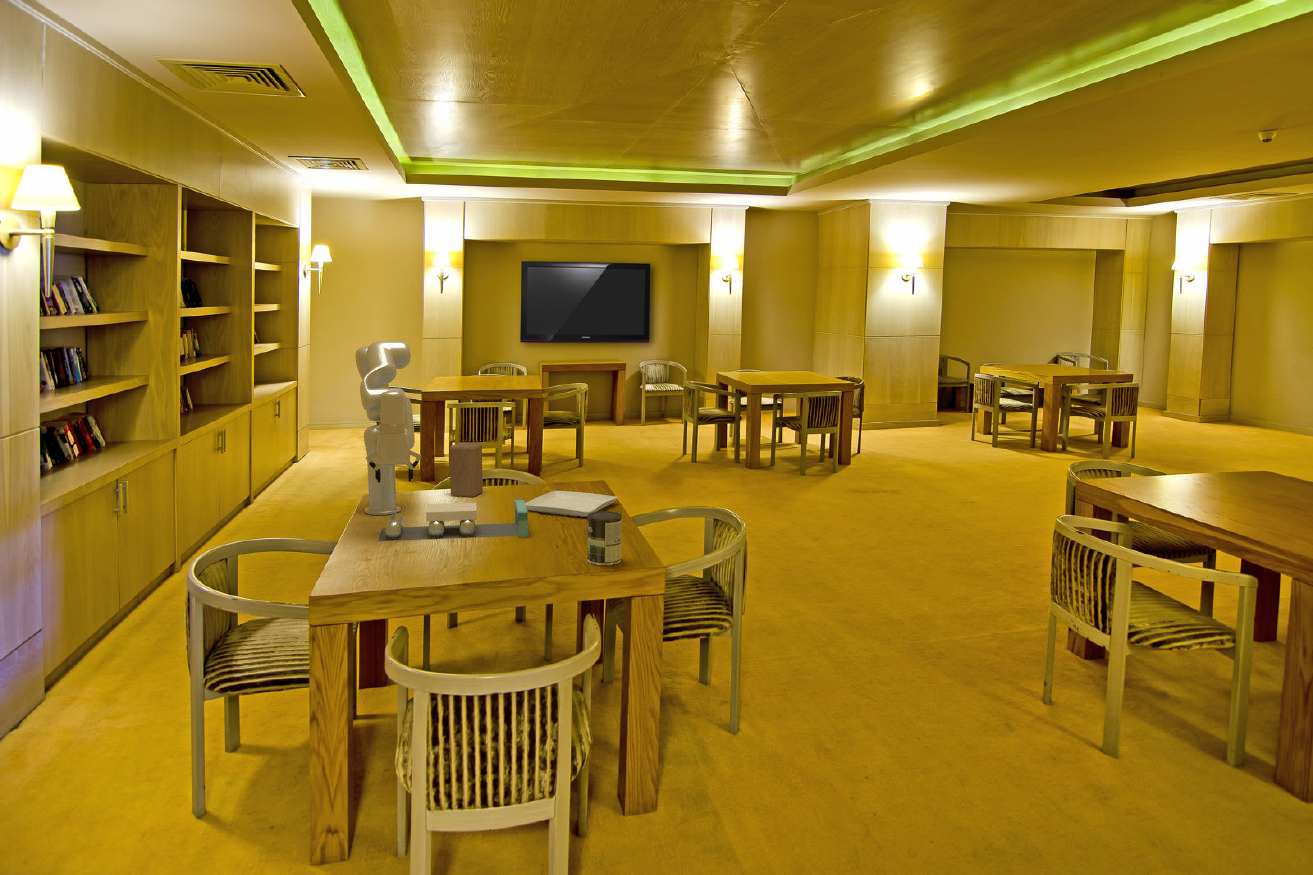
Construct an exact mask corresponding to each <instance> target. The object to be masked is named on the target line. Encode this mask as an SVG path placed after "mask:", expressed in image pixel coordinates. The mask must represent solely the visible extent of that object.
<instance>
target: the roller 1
mask: <svg viewBox="0 0 1313 875" xmlns="http://www.w3.org/2000/svg"><path fill="white" fill-rule="evenodd" d="M445 522H446V521H428V526H429V527H428V534H429V535H430V536H431V537H432V538H440V537H441V536H442V535H443V533H444V526H445Z"/></svg>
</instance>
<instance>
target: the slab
mask: <svg viewBox="0 0 1313 875" xmlns="http://www.w3.org/2000/svg"><path fill="white" fill-rule="evenodd" d="M477 514H478V512H477V502H459V503H458V502H457V503H456V502H455V503H449V502H448V503H427V505H426V511H425V517H426V518H425V519H426V520H425V522H429V521H445V522H450V521H451V522H452V521H460V520H475V521H476V520H478V515H477Z"/></svg>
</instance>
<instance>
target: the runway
mask: <svg viewBox="0 0 1313 875" xmlns="http://www.w3.org/2000/svg"><path fill="white" fill-rule="evenodd" d="M525 503H526V502H525V499H524V498H514V522H508V523H503V522H502V523H482V524H481V523H479V524H477V523H475V533H474V534H473V535H472V536H471V537H464V536H462V535H461V533H460V524H452V525H451V524H450V525H449V524H448V525H444V533H443V535H442V536H441V537H440V538H432V537H431V536H430V535H429V534H428V527H429V525H428V526H427V525H426V526H421V525H420V526H403V527H402V531H401V534H400V537H399V538H398V539H396V540H390V539H388V538H387V537H386V536H385V529H386V527H382V528H381V530H380V533H379V536H378V539H377V542H388V541H389V542H391V541H417V540H420V541H421V540H445V539H467V538H468V539H469V538H470V539H471V538H473V539H474V538H494V537H495V538H496V537H499V538H500V537H518V538H528V537H529V536H531V535H530V534H531V533H530V531H529V530H530V529H529V524H528V522H529V521H528V520H529V519H528V518H529V517H528V516H529V515H528V509H527V508H526V505H525Z"/></svg>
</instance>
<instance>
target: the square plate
mask: <svg viewBox="0 0 1313 875" xmlns="http://www.w3.org/2000/svg"><path fill="white" fill-rule="evenodd" d="M618 498H619V497H618V496H615V495H614V496H613V495H608V494H607V495H606V494H601V493H600V494H598V493H591V492H583V491H582V492H580V491H568V490H567V491H565V490H552V491H550V492H547V493H545V494H541V495H540V496H537V497H535V498H533V499H531V500H528V501H526V502H525V505H526V509H527V511H531V512H532V511H533V512H538V513H541V514H548V513H551V514H550V515H558V514H560V515H561V516H567V515H569V516H570V517H577V516H580V517H583V518H585V517H587V515H588V514H589V513H592V512H598V511H601V510H602V509H604V508H606V507H608V506H610V505H612V504H613V503H614V502H615V501H616V500H618ZM569 516H568V517H569Z"/></svg>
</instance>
